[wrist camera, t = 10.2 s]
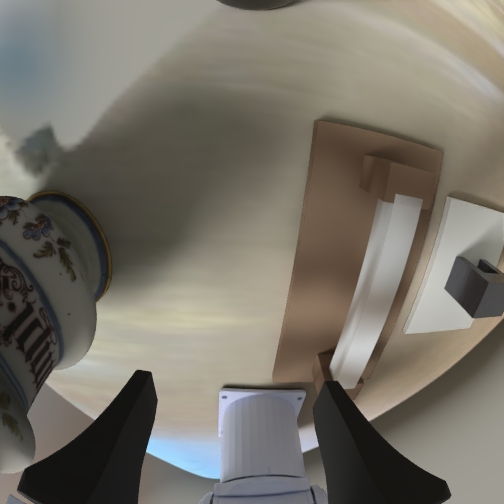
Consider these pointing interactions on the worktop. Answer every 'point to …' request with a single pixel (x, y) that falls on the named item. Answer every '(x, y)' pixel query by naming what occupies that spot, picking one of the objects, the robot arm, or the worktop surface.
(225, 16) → the worktop surface
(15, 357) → the apothecary jar
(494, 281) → the dark grey notched block
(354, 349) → the stand
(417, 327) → the mat
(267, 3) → the supplement bottle
